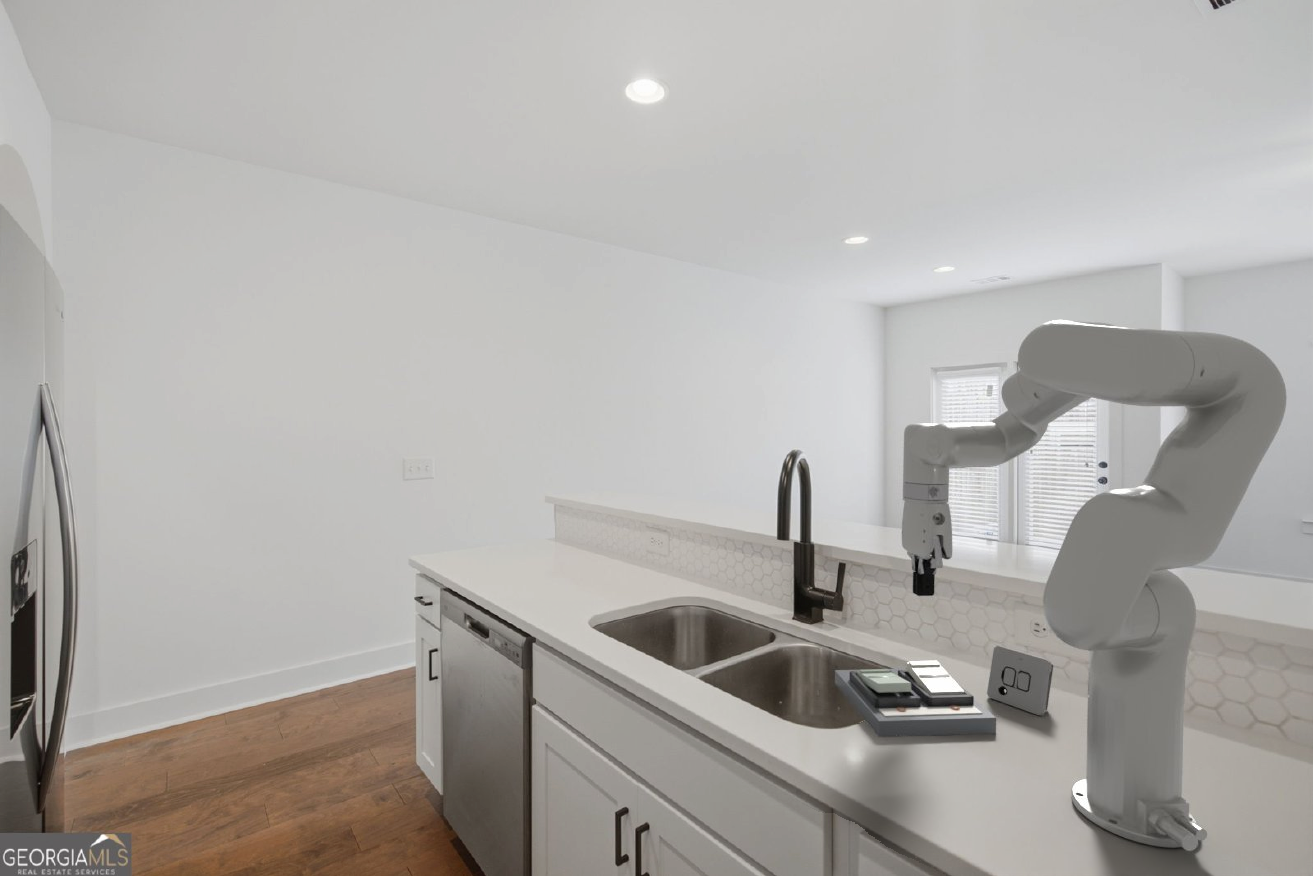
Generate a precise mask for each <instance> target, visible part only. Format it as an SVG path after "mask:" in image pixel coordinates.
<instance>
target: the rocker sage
mask: <svg viewBox="0 0 1313 876" xmlns="http://www.w3.org/2000/svg"><path fill="white" fill-rule="evenodd" d="M888 669H889V668H877V669H874V668H873V670H866V669H858V670H859V672H858V677H859V678H860V679H861V680H862V682H863V683H864V684H866V685H867V686H869V687H871V688H872V689H874V690H875V691H877V692H912V691H911V683H910V682H909V681H907V680H905V679H903V678H901V677H899V676H898V675H895V674H893V673H891V672H890V670H888Z"/></svg>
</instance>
